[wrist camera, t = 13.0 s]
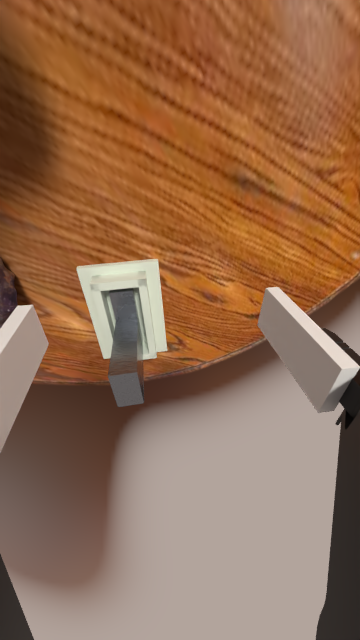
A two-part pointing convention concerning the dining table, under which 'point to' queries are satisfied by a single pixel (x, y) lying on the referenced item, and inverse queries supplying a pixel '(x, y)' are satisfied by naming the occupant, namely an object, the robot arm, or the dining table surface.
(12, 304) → the rock
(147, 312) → the rectangular frame
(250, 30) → the dining table surface
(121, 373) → the grey l-shaped block
